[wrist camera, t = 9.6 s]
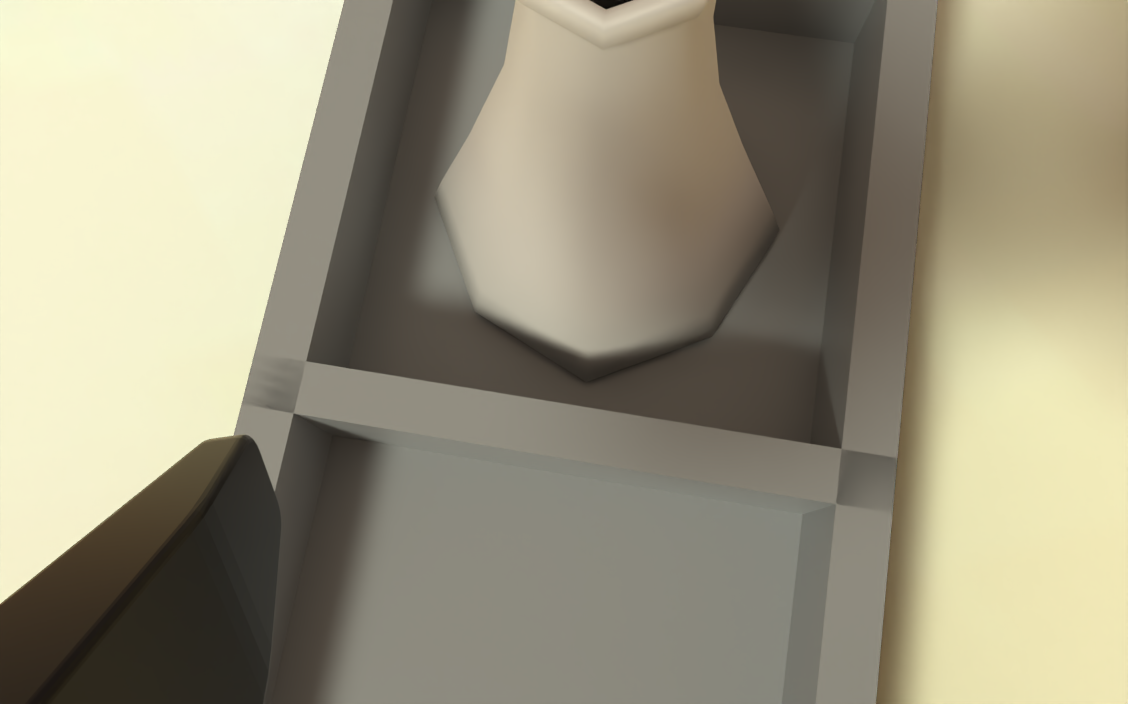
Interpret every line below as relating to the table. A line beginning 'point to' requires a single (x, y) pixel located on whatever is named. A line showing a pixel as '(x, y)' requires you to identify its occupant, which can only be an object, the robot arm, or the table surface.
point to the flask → (606, 185)
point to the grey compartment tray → (591, 397)
